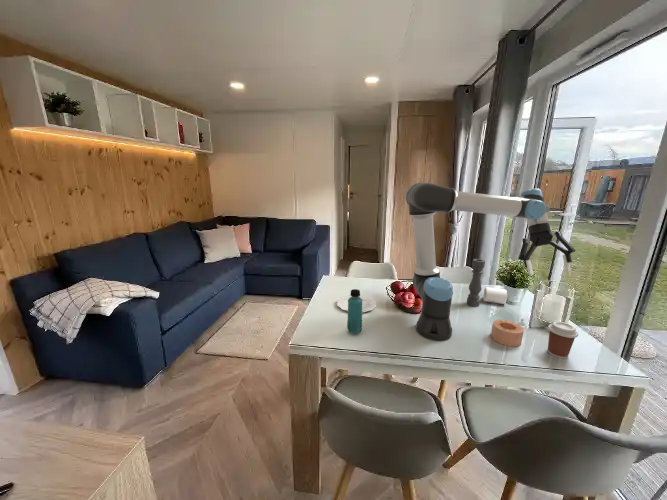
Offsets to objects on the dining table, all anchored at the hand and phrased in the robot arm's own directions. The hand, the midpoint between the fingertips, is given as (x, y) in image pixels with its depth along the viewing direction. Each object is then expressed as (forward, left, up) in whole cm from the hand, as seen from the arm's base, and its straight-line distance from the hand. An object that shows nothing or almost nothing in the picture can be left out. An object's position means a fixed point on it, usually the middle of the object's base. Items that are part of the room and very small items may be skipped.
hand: (549, 273), depth 118 cm
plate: (-61, +56, -28) cm, 88 cm away
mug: (+13, +31, -28) cm, 44 cm away
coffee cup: (-9, -13, -28) cm, 32 cm away
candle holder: (-2, +32, -28) cm, 42 cm away
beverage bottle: (-75, +32, -28) cm, 86 cm away
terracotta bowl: (-18, +2, -28) cm, 33 cm away
